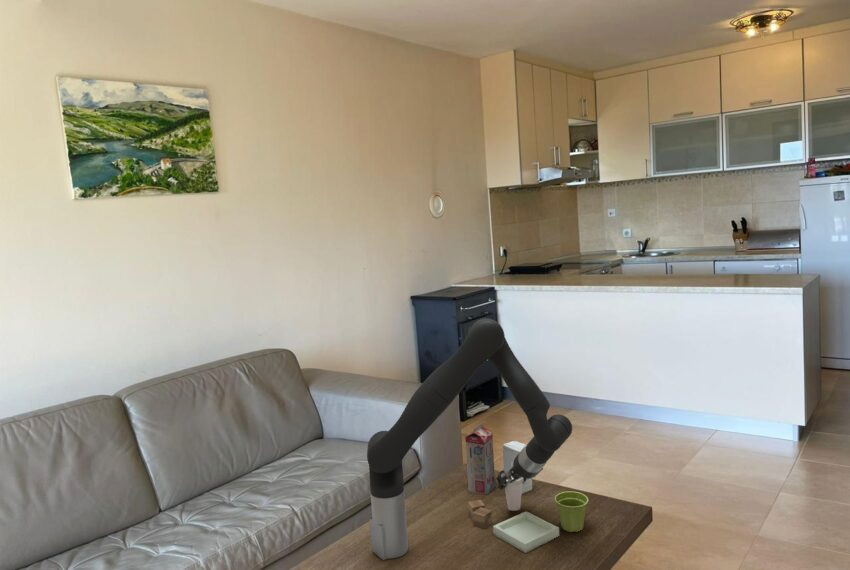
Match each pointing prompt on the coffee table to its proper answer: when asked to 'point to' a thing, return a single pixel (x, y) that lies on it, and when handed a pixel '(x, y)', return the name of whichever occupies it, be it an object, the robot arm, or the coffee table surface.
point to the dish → (526, 531)
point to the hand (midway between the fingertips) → (510, 484)
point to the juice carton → (480, 460)
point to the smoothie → (514, 494)
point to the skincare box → (508, 457)
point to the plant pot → (571, 510)
